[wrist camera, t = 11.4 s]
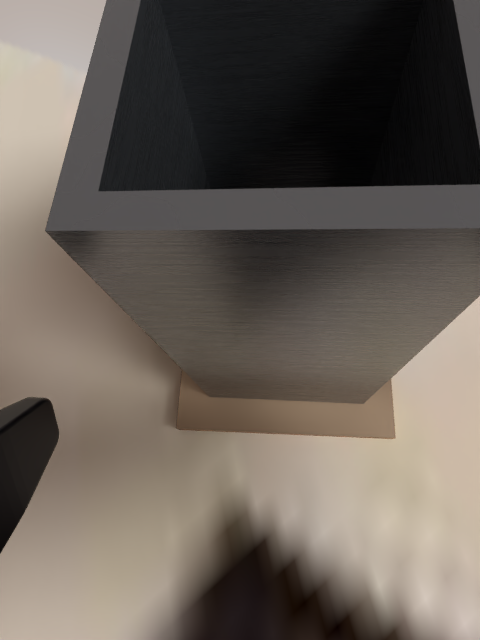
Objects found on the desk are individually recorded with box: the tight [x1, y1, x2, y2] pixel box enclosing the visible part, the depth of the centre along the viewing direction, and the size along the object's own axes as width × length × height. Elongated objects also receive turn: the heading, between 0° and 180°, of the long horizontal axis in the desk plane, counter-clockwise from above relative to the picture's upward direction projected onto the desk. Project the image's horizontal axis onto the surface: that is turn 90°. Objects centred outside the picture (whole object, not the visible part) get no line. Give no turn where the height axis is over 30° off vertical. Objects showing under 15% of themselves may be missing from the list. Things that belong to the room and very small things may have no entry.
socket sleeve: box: [45, 0, 480, 404], centre depth 11 cm, size 6×6×12 cm
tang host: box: [176, 370, 396, 439], centre depth 16 cm, size 8×8×4 cm
